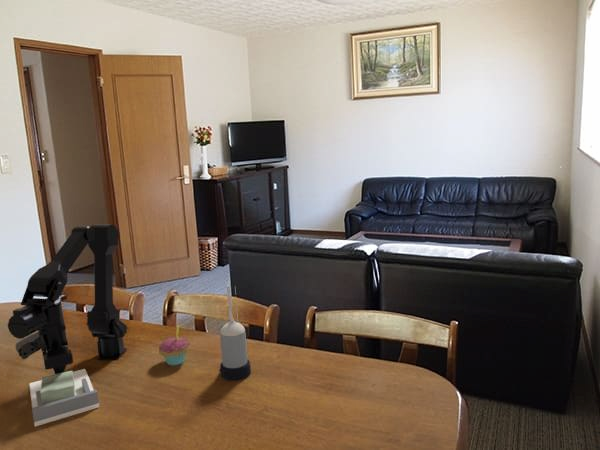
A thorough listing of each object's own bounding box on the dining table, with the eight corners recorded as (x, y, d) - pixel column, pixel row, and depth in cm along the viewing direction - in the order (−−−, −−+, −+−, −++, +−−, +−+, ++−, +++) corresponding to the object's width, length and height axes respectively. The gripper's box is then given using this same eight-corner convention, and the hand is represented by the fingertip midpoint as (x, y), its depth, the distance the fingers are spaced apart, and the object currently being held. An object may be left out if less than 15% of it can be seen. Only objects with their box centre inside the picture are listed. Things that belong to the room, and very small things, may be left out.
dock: (29, 386, 134) (27, 369, 134) (85, 372, 141) (83, 355, 140) (35, 430, 114) (32, 410, 113) (99, 410, 121) (97, 392, 120)
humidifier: (217, 370, 137) (210, 283, 132) (246, 364, 140) (240, 278, 135) (223, 383, 130) (216, 292, 125) (254, 376, 132) (248, 287, 127)
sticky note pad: (44, 394, 126) (42, 377, 125) (74, 387, 129) (72, 370, 128) (43, 411, 118) (40, 393, 117) (75, 403, 121) (73, 385, 120)
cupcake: (194, 355, 147) (190, 316, 144) (185, 369, 138) (181, 328, 136) (166, 355, 148) (162, 317, 145) (155, 368, 139) (151, 328, 137)
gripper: (14, 318, 129) (23, 373, 132) (16, 343, 114) (26, 405, 117) (60, 308, 135) (68, 361, 138) (69, 331, 119) (77, 390, 122)
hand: (59, 378), depth 129 cm, fingers closed
